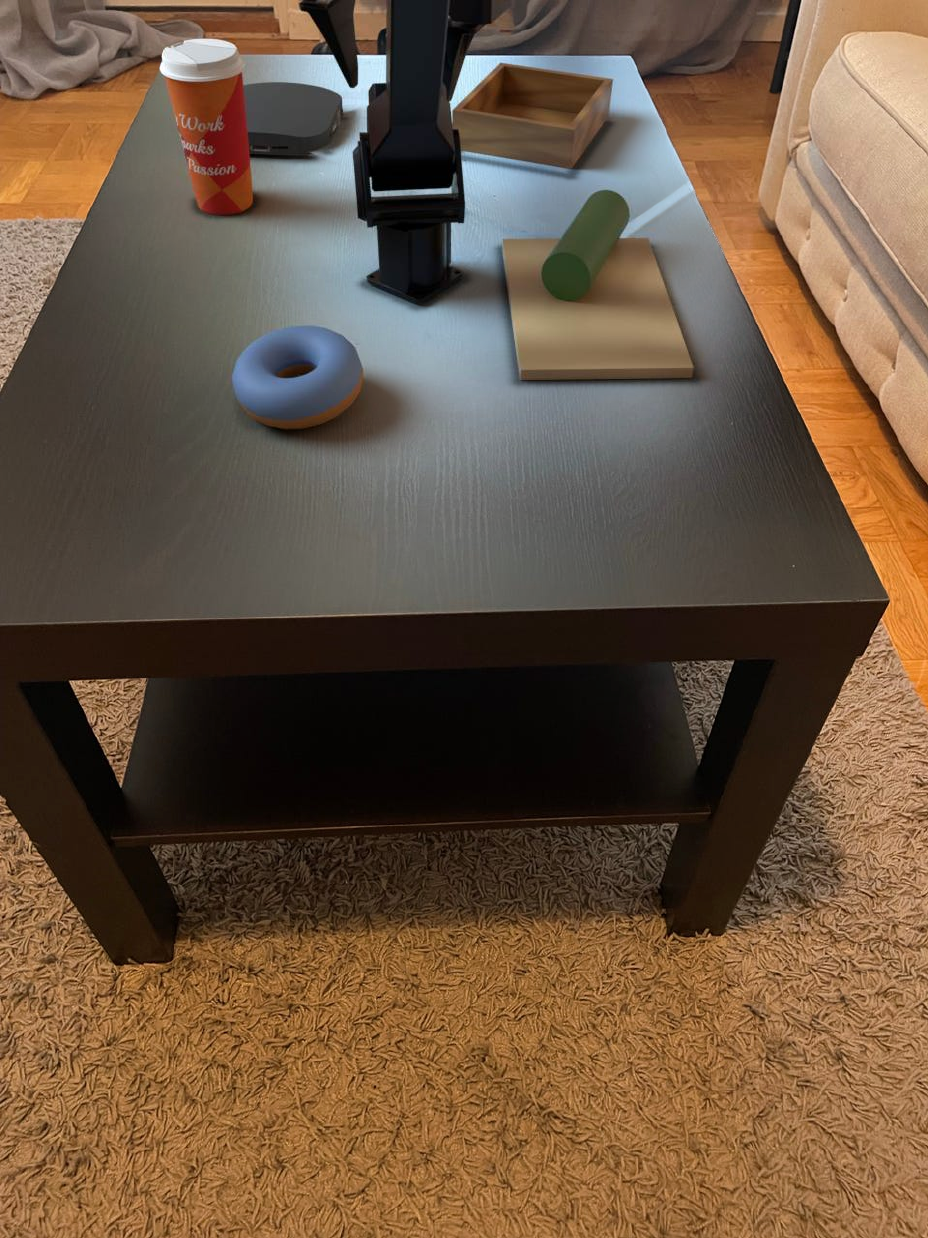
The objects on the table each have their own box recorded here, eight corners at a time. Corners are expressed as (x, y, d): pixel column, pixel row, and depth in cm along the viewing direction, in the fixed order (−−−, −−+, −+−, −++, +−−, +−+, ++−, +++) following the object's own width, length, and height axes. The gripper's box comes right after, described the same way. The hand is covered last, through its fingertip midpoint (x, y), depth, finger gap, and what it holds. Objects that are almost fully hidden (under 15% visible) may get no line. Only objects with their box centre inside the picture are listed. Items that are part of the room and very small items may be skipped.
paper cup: (171, 205, 98) (138, 53, 88) (224, 179, 103) (199, 30, 92) (227, 227, 95) (200, 71, 85) (280, 199, 100) (261, 47, 89)
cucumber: (576, 244, 81) (620, 177, 90) (532, 262, 84) (579, 196, 92) (598, 291, 83) (639, 221, 92) (555, 307, 86) (599, 238, 95)
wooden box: (570, 176, 104) (574, 129, 101) (452, 155, 107) (452, 109, 104) (607, 122, 114) (613, 78, 111) (498, 105, 117) (500, 62, 114)
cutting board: (691, 378, 79) (694, 367, 78) (519, 380, 78) (520, 369, 78) (646, 247, 94) (648, 237, 93) (501, 248, 93) (502, 238, 92)
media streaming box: (228, 103, 116) (224, 76, 114) (349, 109, 116) (347, 82, 114) (195, 154, 107) (190, 125, 104) (327, 161, 106) (324, 132, 104)
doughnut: (231, 442, 72) (220, 390, 69) (243, 366, 79) (233, 316, 76) (364, 438, 73) (360, 386, 70) (365, 363, 80) (361, 313, 76)
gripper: (538, -131, 79) (526, 78, 91) (330, -150, 83) (344, 51, 95) (492, -100, 72) (486, 122, 83) (268, -124, 76) (291, 90, 88)
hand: (400, 93), depth 88 cm, fingers open, 9 cm apart
